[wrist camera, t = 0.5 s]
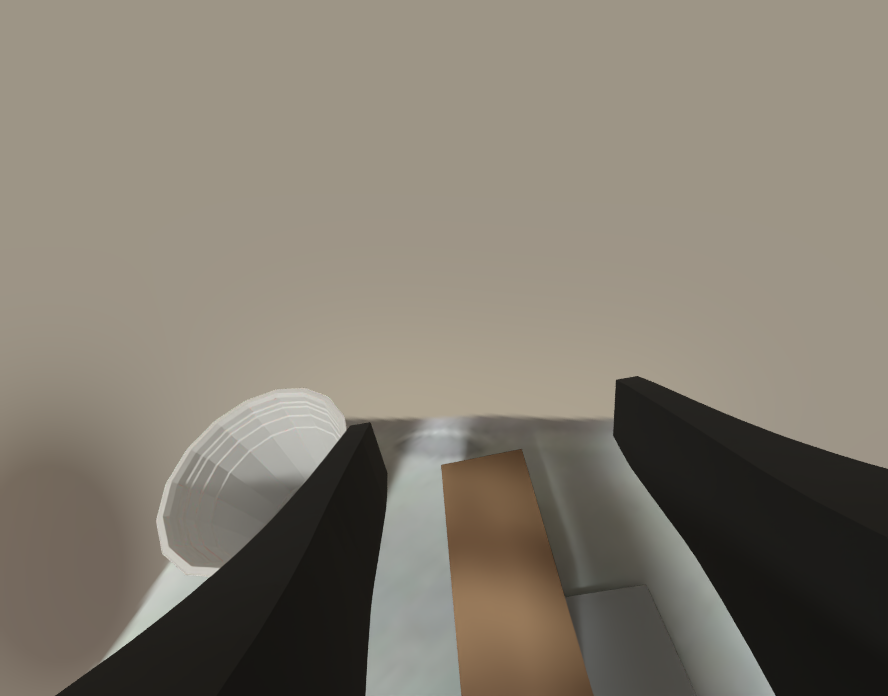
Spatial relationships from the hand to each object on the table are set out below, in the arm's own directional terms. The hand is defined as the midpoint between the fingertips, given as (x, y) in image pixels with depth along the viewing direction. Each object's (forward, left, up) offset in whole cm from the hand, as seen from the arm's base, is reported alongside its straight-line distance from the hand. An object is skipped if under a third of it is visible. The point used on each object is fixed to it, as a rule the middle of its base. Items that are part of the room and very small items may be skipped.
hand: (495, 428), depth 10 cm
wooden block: (0, 0, -19) cm, 19 cm away
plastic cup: (+5, +13, -19) cm, 24 cm away
